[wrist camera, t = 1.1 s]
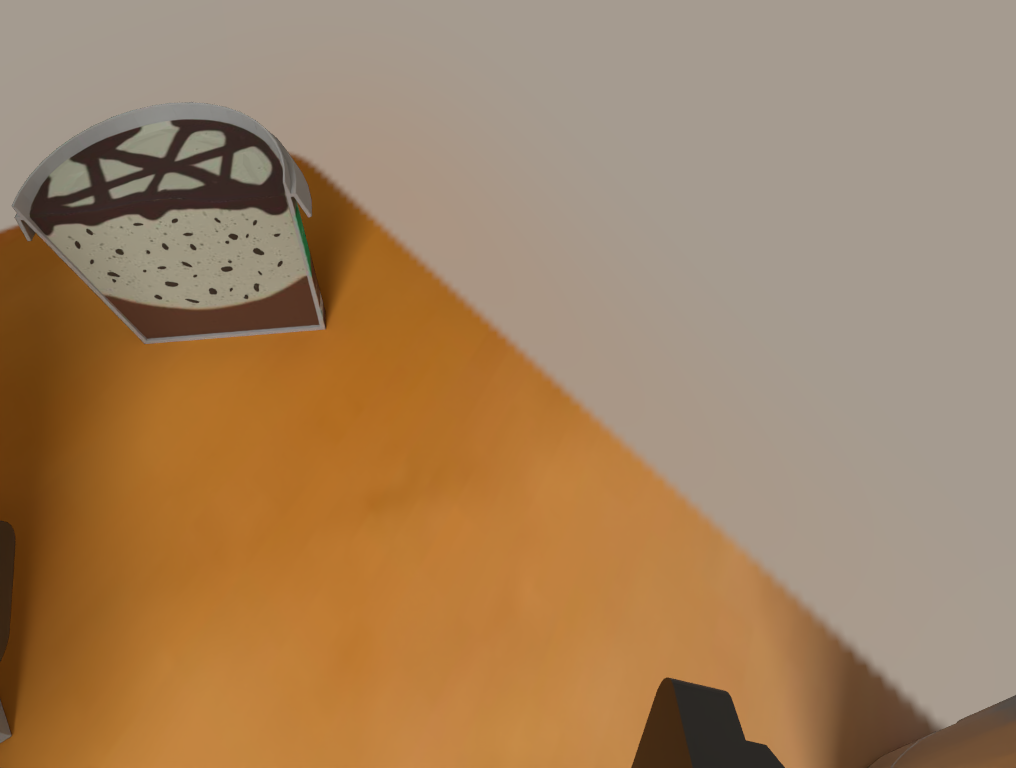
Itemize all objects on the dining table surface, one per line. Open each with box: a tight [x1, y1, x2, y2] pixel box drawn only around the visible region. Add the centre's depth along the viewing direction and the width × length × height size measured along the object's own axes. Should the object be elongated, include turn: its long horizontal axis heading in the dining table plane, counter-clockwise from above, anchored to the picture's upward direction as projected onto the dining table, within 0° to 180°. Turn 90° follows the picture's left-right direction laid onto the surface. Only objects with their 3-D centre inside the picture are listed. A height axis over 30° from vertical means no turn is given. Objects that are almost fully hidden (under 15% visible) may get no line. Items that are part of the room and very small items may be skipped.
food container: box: [12, 102, 326, 344], centre depth 39 cm, size 12×6×10 cm, turn 93°
